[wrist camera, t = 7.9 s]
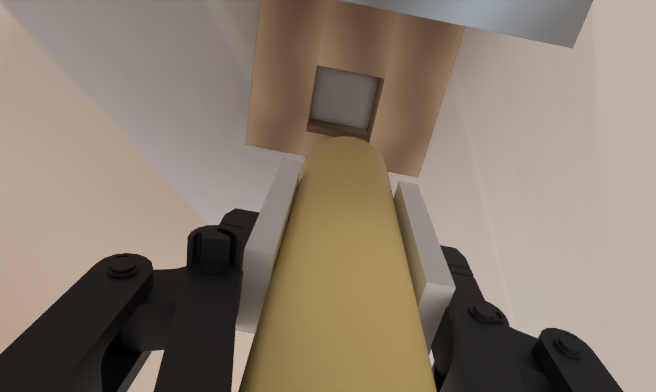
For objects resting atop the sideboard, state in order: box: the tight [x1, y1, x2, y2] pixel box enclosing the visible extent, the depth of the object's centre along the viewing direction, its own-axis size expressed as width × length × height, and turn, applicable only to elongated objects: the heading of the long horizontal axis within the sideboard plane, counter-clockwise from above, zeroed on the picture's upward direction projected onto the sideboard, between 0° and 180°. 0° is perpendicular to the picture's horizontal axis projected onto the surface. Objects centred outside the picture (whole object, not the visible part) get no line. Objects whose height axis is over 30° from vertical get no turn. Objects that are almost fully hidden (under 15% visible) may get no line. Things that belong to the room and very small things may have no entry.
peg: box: [238, 136, 437, 392], centre depth 13 cm, size 4×4×14 cm
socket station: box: [246, 0, 593, 177], centre depth 24 cm, size 15×18×17 cm
